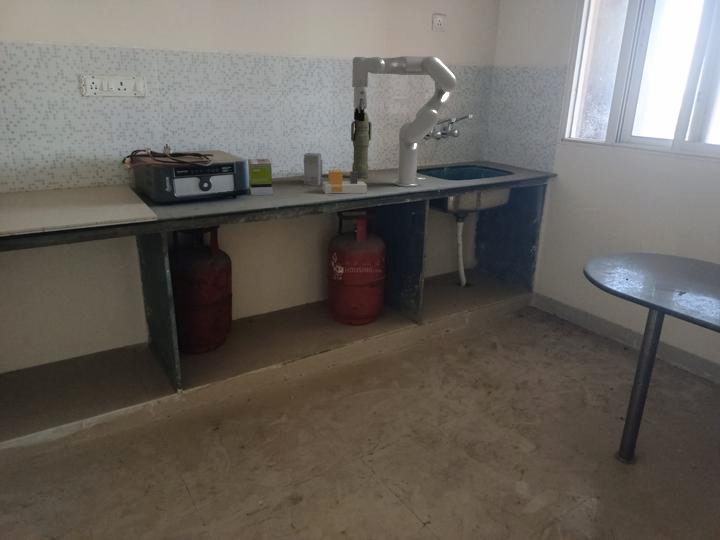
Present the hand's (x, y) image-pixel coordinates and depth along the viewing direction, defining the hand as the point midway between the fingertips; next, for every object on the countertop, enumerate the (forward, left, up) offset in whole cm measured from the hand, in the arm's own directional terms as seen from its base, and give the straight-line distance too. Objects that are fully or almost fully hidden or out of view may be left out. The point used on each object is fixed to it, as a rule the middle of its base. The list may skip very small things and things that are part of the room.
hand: (359, 120), depth 263 cm
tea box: (+50, +15, -33) cm, 61 cm away
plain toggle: (+5, +17, -30) cm, 35 cm away
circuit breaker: (+22, -8, -32) cm, 40 cm away
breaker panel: (+10, +17, -32) cm, 38 cm away
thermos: (-6, -22, -32) cm, 40 cm away
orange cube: (+15, +17, -28) cm, 36 cm away
